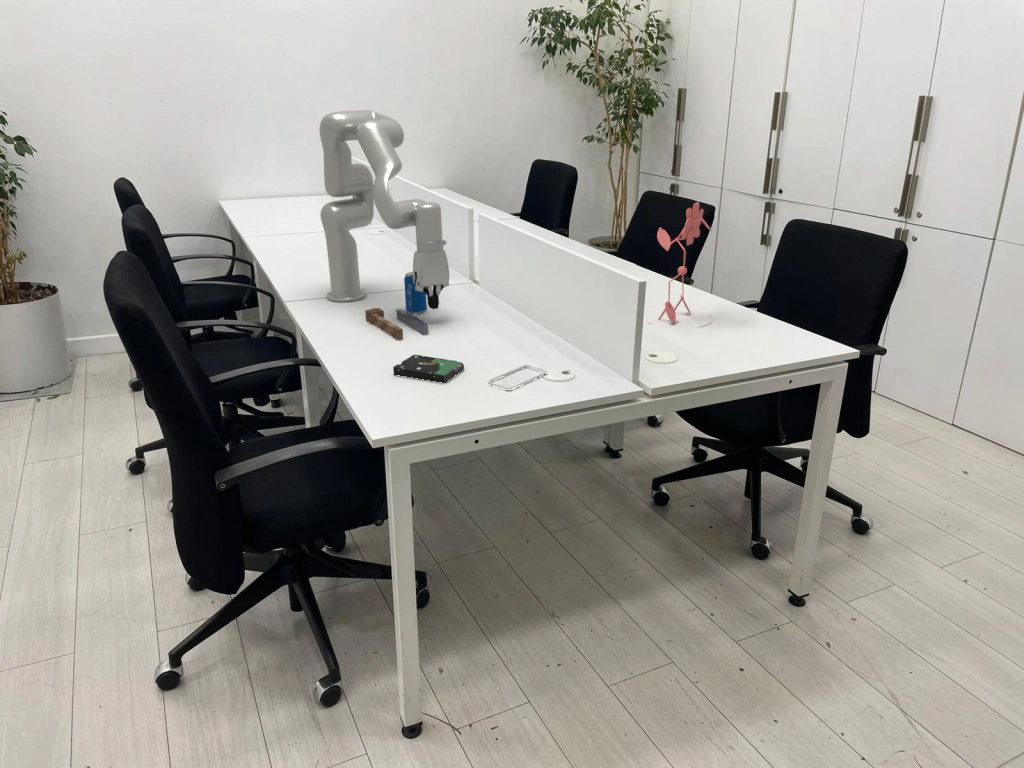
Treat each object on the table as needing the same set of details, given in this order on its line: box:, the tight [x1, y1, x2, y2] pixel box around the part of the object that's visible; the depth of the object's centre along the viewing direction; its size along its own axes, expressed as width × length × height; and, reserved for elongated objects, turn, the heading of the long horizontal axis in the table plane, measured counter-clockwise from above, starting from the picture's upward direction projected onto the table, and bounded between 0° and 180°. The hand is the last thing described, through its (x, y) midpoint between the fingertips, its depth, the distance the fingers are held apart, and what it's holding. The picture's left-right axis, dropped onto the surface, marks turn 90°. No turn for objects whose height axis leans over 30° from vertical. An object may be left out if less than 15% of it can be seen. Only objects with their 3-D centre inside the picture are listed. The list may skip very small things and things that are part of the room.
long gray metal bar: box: [395, 308, 429, 335], centre depth 227 cm, size 18×2×3 cm, turn 33°
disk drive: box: [392, 354, 465, 384], centre depth 193 cm, size 10×3×15 cm
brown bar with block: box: [364, 307, 404, 341], centre depth 225 cm, size 22×4×4 cm, turn 33°
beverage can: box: [403, 271, 428, 314], centre depth 240 cm, size 6×6×12 cm
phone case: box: [486, 364, 548, 389], centre depth 189 cm, size 7×1×15 cm
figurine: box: [646, 200, 713, 328], centre depth 225 cm, size 15×26×35 cm, turn 142°
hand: (433, 307), depth 230 cm, fingers closed
